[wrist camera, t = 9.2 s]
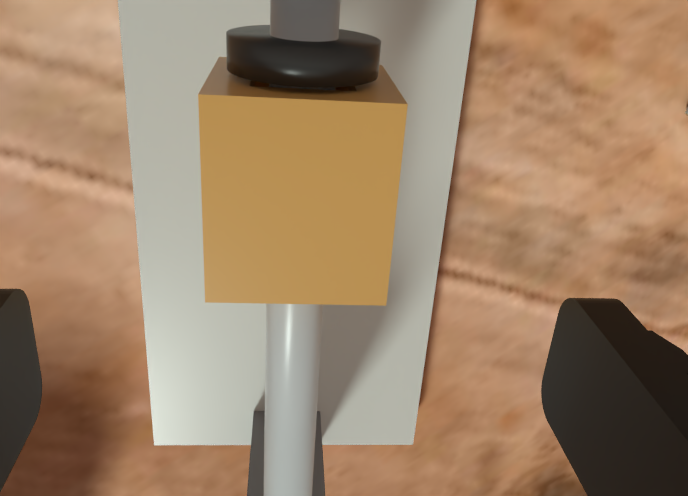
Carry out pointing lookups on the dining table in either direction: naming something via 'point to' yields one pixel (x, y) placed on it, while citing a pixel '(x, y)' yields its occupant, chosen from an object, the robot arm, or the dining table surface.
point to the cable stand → (286, 319)
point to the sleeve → (299, 190)
